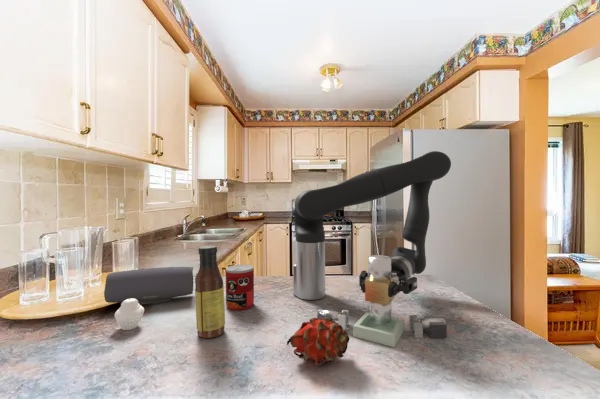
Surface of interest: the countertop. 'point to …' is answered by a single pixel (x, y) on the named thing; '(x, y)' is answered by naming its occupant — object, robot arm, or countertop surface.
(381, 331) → the mint green tray
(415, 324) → the shaft
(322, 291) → the robot arm
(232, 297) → the canned food
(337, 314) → the shaft
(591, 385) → the countertop surface
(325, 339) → the dragon fruit
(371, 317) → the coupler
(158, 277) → the bluetooth speaker
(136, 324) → the muffin
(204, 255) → the sauce bottle
